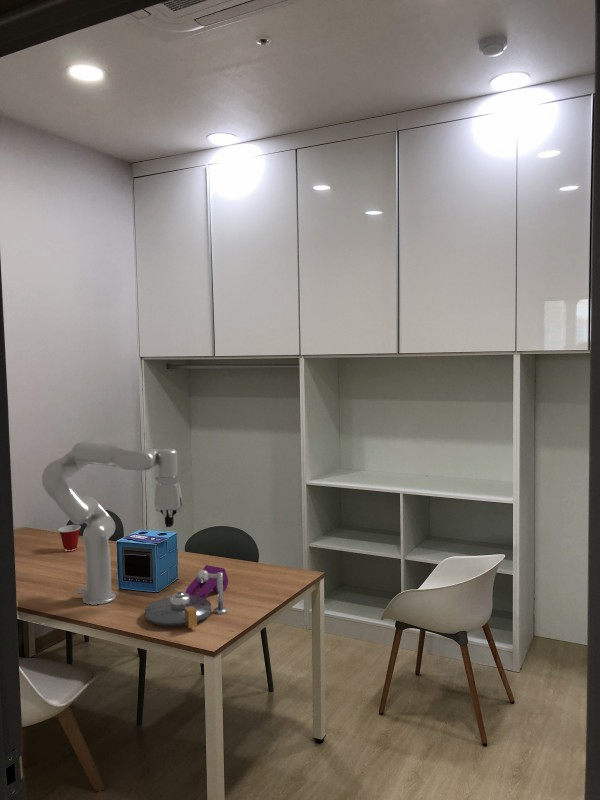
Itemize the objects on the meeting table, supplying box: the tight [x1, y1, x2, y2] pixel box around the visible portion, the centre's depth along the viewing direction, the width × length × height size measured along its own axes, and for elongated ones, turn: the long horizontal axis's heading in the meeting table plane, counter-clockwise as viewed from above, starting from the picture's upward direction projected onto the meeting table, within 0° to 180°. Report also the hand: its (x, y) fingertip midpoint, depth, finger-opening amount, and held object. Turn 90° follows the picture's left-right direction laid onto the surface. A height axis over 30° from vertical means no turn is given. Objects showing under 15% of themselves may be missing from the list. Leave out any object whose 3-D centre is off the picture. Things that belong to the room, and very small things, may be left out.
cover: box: [169, 591, 190, 611], centre depth 238 cm, size 7×7×5 cm
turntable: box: [144, 596, 212, 629], centre depth 236 cm, size 24×28×6 cm
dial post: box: [195, 569, 228, 615], centre depth 242 cm, size 11×5×16 cm, turn 79°
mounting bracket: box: [184, 564, 229, 599], centre depth 261 cm, size 10×8×18 cm
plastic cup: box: [57, 524, 81, 550], centre depth 324 cm, size 11×11×12 cm
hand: (169, 526), depth 255 cm, fingers closed
